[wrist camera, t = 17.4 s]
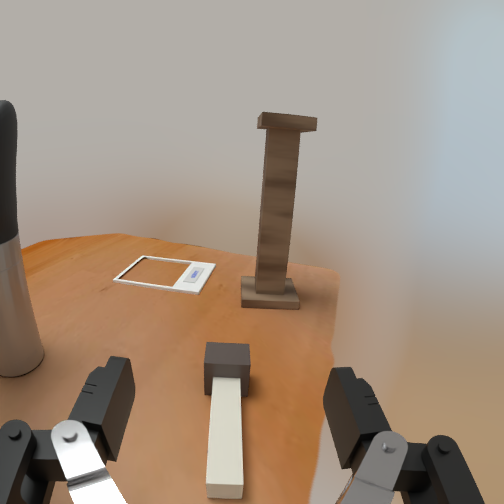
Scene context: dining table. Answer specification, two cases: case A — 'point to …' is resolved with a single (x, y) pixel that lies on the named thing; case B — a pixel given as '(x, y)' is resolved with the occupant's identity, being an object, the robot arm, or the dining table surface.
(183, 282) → the photo frame
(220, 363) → the grey-headed mallet
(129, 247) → the dining table surface
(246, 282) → the walnut stand
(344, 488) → the robot arm
